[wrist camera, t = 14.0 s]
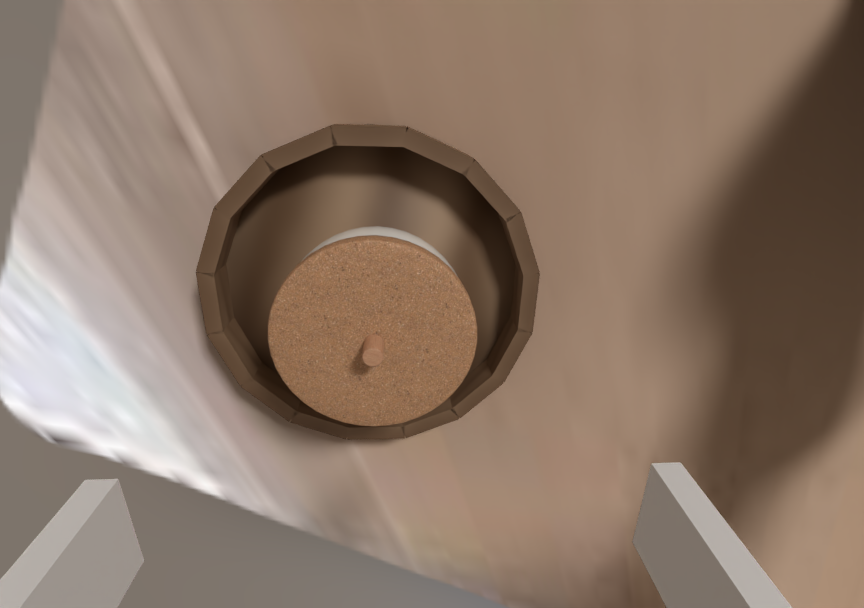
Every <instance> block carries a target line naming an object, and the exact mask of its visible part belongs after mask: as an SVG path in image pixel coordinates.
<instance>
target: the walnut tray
mask: <svg viewBox="0 0 864 608" xmlns="http://www.w3.org/2000/svg"><path fill="white" fill-rule="evenodd" d="M371 226H381V227H390V228H395V229H398V230H402V231H406V232H408V233H410V234H412V235H415V236H417V237H419V238H421V239H422V240H424V241H426V242H427V243H429V244H430V245H432V246H433V247H434V248H435V249H436V250H437V251H438V252H439V253H440V254H442V256H443V257H444V258H445V259H446V260H447V261H448V263H449V264H450V265H451V266H452V268H453V269H454V271H455V272H456V274H457V276H458V278H459V279H460V280H461V282H462V284H463V286H464V288H465V289H466V291H467V293H468V295H469V297H470V300H471V303H472V306H473V309H474V311H475V316H476V322H477V346H476V351H475V356H474V359H473V362H472V365H471V367H470V370H469V371H468V373H467V375H466V377H465V379H464V380H463V382H462V383H461V384H460V386H459V387H458V388H457V389H456V391H455V392H454V393H453V394H452V395H451V396H450V397H449V398H448V399H447V400H446V401H444V402H443V403H442V404H441V405H439V406H438V407H436V408H435V409H433V410H432V411H430V412H428V413H426V414H424V415H422V416H420V417H418V418H415V419H412V420H409V421H407V422H404V423H398V424H393V425H386V426H361V425H354V424H349V423H344V422H341V421H338V420H335V419H332V418H330V417H327V416H325V415H323V414H321V413H319V412H317V411H315V410H314V409H312V408H311V407H309V406H308V405H307V404H305V403H304V402H303V401H301V400H300V399H299V398H298V397H297V396H296V395H295V394H294V393H293V392H292V391H291V390H290V389H289V387H288V386H287V385H286V384H285V383H284V381H283V380H282V378H281V376H280V375H279V373H278V371H277V369H276V368H275V365H274V362H273V359H272V357H271V354H270V349H269V344H268V319H269V314H270V309H271V306H272V303H273V301H274V298H275V296H276V294H277V292H278V290H279V288H280V287H281V285H282V283H283V282H284V280H285V279H286V277H287V276H288V275H289V274H290V272H291V271H292V270H293V269H294V268H295V267H296V266H297V265H298V264H299V263H300V262H301V261H302V260H303V258H304V257H305V256H306V255H307V254H308V253H309V252H311V251H312V250H313V249H314V248H315V247H317V246H318V245H319V244H321V243H322V242H324V241H325V240H327V239H329V238H331V237H332V236H334V235H336V234H339V233H342V232H344V231H347V230H351V229H355V228H360V227H371ZM196 271H197V272H196V276H197V282H198V288H199V293H200V299H201V305H202V311H203V316H204V322H205V328H206V333H207V334H208V335H207V336H208V337H209V339H210V340H211V342H212V343H213V345H214V347H215V348H216V350H217V351H218V353H219V354H220V356H221V357H222V359H223V360H224V362H225V363H226V365H227V366H228V368H229V370H230V371H231V373H232V374H233V376H234V377H235V379H236V380H237V382H238V383H239V385H240V386H241V385H242V386H241V387H242V388H243V389H245V390H246V391H248V392H249V393H250V394H252V395H253V396H254V397H256V398H257V399H259V400H260V401H261V402H263V403H264V404H265V405H267V406H268V407H270V408H271V409H272V410H274V411H275V412H276V413H278V414H279V415H281V416H282V417H283V418H285V419H286V420H287V421H290V420H291V423H294V424H297V425H301V426H304V427H307V428H311V429H314V430H317V431H320V432H324V433H327V434H330V435H333V436H337V437H340V438H343V439H346V438H347V440H348V439H393V438H405V437H406V438H407V437H410V436H413V435H416V434H419V433H421V432H424V431H427V430H430V429H433V428H435V427H438V426H441V425H444V424H446V423H449V422H452V421H455V420H458V419H459V418H461V417H462V416H464V415H465V414H466V413H467V412H469V411H470V410H471V409H472V408H473V407H475V406H476V405H477V404H478V403H480V402H481V401H482V400H483V399H485V398H486V397H487V396H488V395H489V394H491V393H492V392H493V391H494V390H496V389H497V388H498V387H499V386H501V385H502V384H503V382H505V380H506V378H507V376H508V375H509V373H510V371H511V370H512V368H513V366H514V364H515V363H516V361H517V359H518V357H519V356H520V354H521V352H522V350H523V349H524V347H525V345H526V343H527V342H528V340H529V338H530V336H531V335H532V332H533V325H534V317H535V309H536V300H537V292H538V284H539V276H540V274H539V269H538V266H537V262H536V259H535V256H534V253H533V249H532V246H531V243H530V240H529V236H528V233H527V230H526V227H525V223H524V220H523V217H522V213H521V212H520V210H519V209H518V208H517V207H516V206H515V204H514V203H513V202H512V201H511V200H510V199H509V198H508V196H507V195H506V194H505V193H504V192H503V191H502V190H501V188H500V187H499V186H498V185H497V184H496V183H495V182H494V180H493V179H492V178H491V177H490V176H489V175H488V174H487V172H486V171H485V170H484V169H483V168H482V167H481V166H480V164H479V163H478V162H477V161H476V160H475V159H474V158H472V157H471V156H469V155H467V154H465V153H463V152H461V151H459V150H457V149H455V148H453V147H450V146H448V145H446V144H444V143H442V142H440V141H438V140H436V139H434V138H431V137H429V136H427V135H425V134H423V133H421V132H418V131H416V130H414V129H412V128H410V127H408V126H407V128H406V126H390V125H351V124H334V125H331V126H328V127H326V128H323V129H321V130H319V131H316V132H314V133H312V134H309V135H307V136H304V137H302V138H300V139H297V140H295V141H293V142H290V143H288V144H285V145H283V146H281V147H278V148H276V149H273V150H271V151H269V152H266V153H264V154H262V155H260V156H259V157H258V159H257V160H256V161H255V162H254V163H253V164H252V165H251V166H250V168H249V169H248V170H247V171H246V172H245V173H244V174H243V175H242V176H241V178H240V179H239V180H238V181H237V182H236V183H235V184H234V185H233V187H232V188H231V189H230V190H229V191H228V192H227V193H226V194H225V196H224V197H223V198H222V199H221V200H220V201H219V202H218V203H217V205H216V206H215V207H214V209H213V212H212V215H211V219H210V223H209V226H208V230H207V233H206V237H205V241H204V244H203V248H202V251H201V255H200V259H199V262H198V266H197V269H196Z"/></svg>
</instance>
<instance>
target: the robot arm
mask: <svg viewBox="0 0 864 608" xmlns="http://www.w3.org/2000/svg"><path fill="white" fill-rule="evenodd" d="M633 544H634V546H635V548H636V550H637V552H638V554H639V556H640V557H641V559H642V561H643V563H644V565H645V567H646V569H647V571H648V573H649V575H650V577H651V579H652V581H653V582H654V584H655V586H656V588H657V590H658V592H659V594H660V596H661V598H662V600H663V602H664V604H665V606H666V608H792V607H791V605H790V604H789V603H788V601H787V600H786V599H785V598H784V596H783V595H782V594H781V592H780V591H779V590H778V588H777V587H776V586H775V585H774V583H773V582H772V581H771V579H770V578H769V577H768V575H767V574H766V573H765V572H764V570H763V569H762V568H761V566H760V565H759V564H758V562H757V561H756V560H755V559H754V557H753V556H752V555H751V553H750V552H749V551H748V549H747V548H746V547H745V545H744V544H743V543H742V542H741V540H740V539H739V538H738V536H737V535H736V534H735V532H734V531H733V530H732V529H731V527H730V526H729V525H728V523H727V522H726V521H725V519H724V518H723V517H722V516H721V514H720V513H719V512H718V510H717V509H716V508H715V506H714V505H713V504H712V503H711V501H710V500H709V499H708V497H707V496H706V495H705V493H704V492H703V491H702V490H701V488H700V487H699V486H698V484H697V483H696V482H695V480H694V479H693V478H692V477H691V475H690V474H689V473H688V471H687V470H686V469H685V467H684V466H683V465H682V464H681V462H678V463H651V467H650V471H649V475H648V480H647V484H646V488H645V492H644V496H643V500H642V504H641V508H640V513H639V517H638V521H637V525H636V529H635V533H634V537H633ZM143 562H144V558H143V555H142V552H141V549H140V546H139V542H138V539H137V537H136V533H135V530H134V527H133V524H132V520H131V517H130V515H129V511H128V508H127V505H126V502H125V499H124V495H123V492H122V489H121V486H120V483H119V480H118V479H100V480H85V481H84V482H83V483H82V484H81V485H80V487H79V488H78V489H77V490H76V491H75V492H74V494H73V495H72V496H71V497H70V498H69V500H68V501H67V502H66V503H65V504H64V506H63V507H62V508H61V509H60V510H59V511H58V513H57V514H56V515H55V516H54V517H53V519H52V520H51V521H50V522H49V523H48V524H47V525H46V527H45V528H44V529H43V530H42V531H41V533H40V534H39V535H38V536H37V537H36V538H35V540H34V541H33V542H32V543H31V544H30V545H29V547H28V548H27V549H26V550H25V551H24V553H23V554H22V555H21V556H20V557H19V558H18V560H17V561H16V562H15V563H14V564H13V565H12V567H11V568H10V569H9V570H8V572H7V573H6V574H5V575H4V576H3V577H2V578H1V580H0V608H118V606H119V604H120V602H121V600H122V599H123V597H124V595H125V594H126V592H127V590H128V588H129V587H130V585H131V583H132V581H133V579H134V578H135V576H136V574H137V572H138V571H139V569H140V567H141V565H142V564H143Z"/></svg>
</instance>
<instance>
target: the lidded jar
mask: <svg viewBox="0 0 864 608" xmlns="http://www.w3.org/2000/svg"><path fill="white" fill-rule="evenodd" d="M268 344H269V349H270V354H271V357H272V359H273V362H274V365H275V368H276V369H277V371H278V373H279V375H280V376H281V378H282V380H283V381H284V383H285V384H286V385H287V386H288V387H289V389H290V390H291V391H292V392H293V393H294V394H295V395H296V396H297V397H298V398H299V399H300V400H301V401H303V402H304V403H305V404H307V405H308V406H309V407H311V408H312V409H314V410H315V411H317V412H319V413H321V414H323V415H325V416H327V417H330V418H332V419H335V420H338V421H341V422H344V423H349V424H354V425H361V426H386V425H393V424H398V423H404V422H407V421H409V420H412V419H415V418H418V417H420V416H422V415H424V414H426V413H428V412H430V411H432V410H433V409H435V408H436V407H438V406H439V405H441V404H442V403H443V402H444V401H446V400H447V399H448V398H449V397H450V396H451V395H452V394H453V393H454V392H455V391H456V389H457V388H458V387H459V386H460V384H461V383H462V382H463V380H464V379H465V377H466V375H467V373H468V371H469V370H470V367H471V365H472V362H473V359H474V356H475V351H476V346H477V322H476V316H475V311H474V309H473V306H472V303H471V300H470V297H469V295H468V293H467V291H466V289H465V288H464V286H463V284H462V282H461V280H460V279H459V278H458V276H457V274H456V272H455V271H454V269H453V268H452V266H451V265H450V264H449V263H448V261H447V260H446V259H445V258H444V257H443V256H442V254H440V253H439V252H438V251H437V250H436V249H435V248H434V247H433V246H432V245H430V244H429V243H427V242H426V241H424V240H422V239H421V238H419V237H417V236H415V235H412V234H410V233H408V232H406V231H402V230H398V229H395V228H390V227H381V226H371V227H360V228H355V229H351V230H347V231H344V232H342V233H339V234H336V235H334V236H332V237H331V238H329V239H327V240H325V241H324V242H322V243H321V244H319V245H318V246H317V247H315V248H314V249H313V250H312V251H311V252H309V253H308V254H307V255H306V256H305V257H304V258H303V260H302V261H301V262H300V263H299V264H298V265H297V266H296V267H295V268H294V269H293V270H292V271H291V272H290V274H289V275H288V276H287V277H286V279H285V280H284V282H283V283H282V285H281V287H280V288H279V290H278V292H277V294H276V296H275V298H274V301H273V303H272V306H271V309H270V314H269V319H268Z"/></svg>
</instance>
